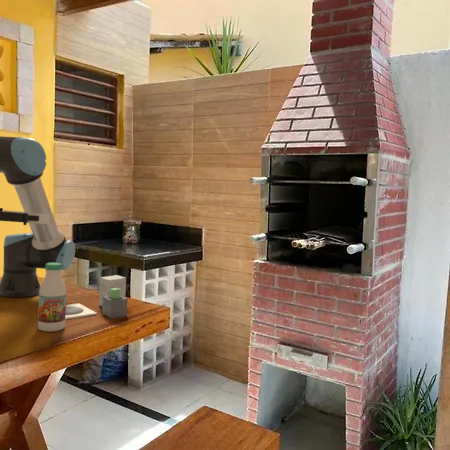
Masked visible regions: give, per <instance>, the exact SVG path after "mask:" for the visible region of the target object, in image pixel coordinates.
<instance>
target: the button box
mask: <svg viewBox="0 0 450 450" xmlns="http://www.w3.org/2000/svg"><path fill="white" fill-rule="evenodd" d="M101 312H102V315H104V316H105V317H108V318H109V319H115V318H117V319H118V318H123V317H127V316H128V298H127V297H126V296H125V297H123V296H121V299H116V300H112V299H110V296H105V297H103V307H102V310H101Z"/></svg>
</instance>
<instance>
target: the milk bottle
mask: <svg viewBox="0 0 450 450" xmlns="http://www.w3.org/2000/svg"><path fill="white" fill-rule="evenodd" d="M45 268H46V269H44V270H45V276H44V279H43V280H42V283H41V284H40V286H41V287H40V292H39V294H38V315H37V316H38V317H37V318H38V319H37V321H38V322H37V328H38V330H39V331H42V332H45V333H46V332H50V333H51V332H52V333H53V332H58V331H61V330H62V331H63V329H64V328H65V326H66V320H65V313H66V305H67V289H66V285H65V282H64V280H63V277H62V274H61V273H62V271H63V270H61V269H62V264H61V263H47V264H46V266H45Z"/></svg>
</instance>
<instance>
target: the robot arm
mask: <svg viewBox="0 0 450 450" xmlns="http://www.w3.org/2000/svg"><path fill="white" fill-rule="evenodd" d="M46 160H47V155H46V152H45V149H44V146H42V144H41V143H40V142H39V141H37V140H36V139H34V138H30V137H29V138H28V137H25V136H1V135H0V173H2V174H3V175H4V177H5V180H6V182H7V183H8V184H9V185H11V186H13V187H14V189H15V191H16V194H17V196H18V197H17V198H18V199H19V202H20V205H21V208H22V209H23V211H21V210H19V211H18V210H5V209H4V208H3V207H0V222H12V223H13V222H14V223H23V226H27V224H28V225H29V227H30V231H31V232H24V233H22V232H21V233H14V234H8V235H6V236H5V237H4V240H3V241H4V242H3V267H2V268H3V272H2V276H1V279H0V296H1V297H5V298H6V297H7V298H27V297H33V296H37V295H39V292H40V287H41V284H40V283H41V282H40V281H39V277H38V274H37V269H43V270H46V268H45V266H46V264H47V263H61V264H62V269H61V270H62V271H66V270H68V269H69V268H70V267H71V265H72V264H73V261H74V259H75V253H76V245H75V243H74V241H72V240H71V239H66V236H65V233H64V232H63V230H61V229H58V226H57V222H56V220H55V217H54V213H53V211H52V208H51V206H50V202H49V200H48V197H47V194H46V191H45V189H44V184H43V182H42V179H41V178H42V177H43V175H44V171H45V169H46V166H47V162H46Z"/></svg>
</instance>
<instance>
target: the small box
mask: <svg viewBox="0 0 450 450" xmlns="http://www.w3.org/2000/svg"><path fill="white" fill-rule="evenodd" d="M126 283H127V277H125V276H121V275H118V274H115V275H108V276H102V277H99V285H98V306H100V307H102V308H103V297H105V296H110V289H111V288H120V289H121V296H123V297H125V298H126V292H127V291H126V288H127V287H126V286H127V284H126Z"/></svg>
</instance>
